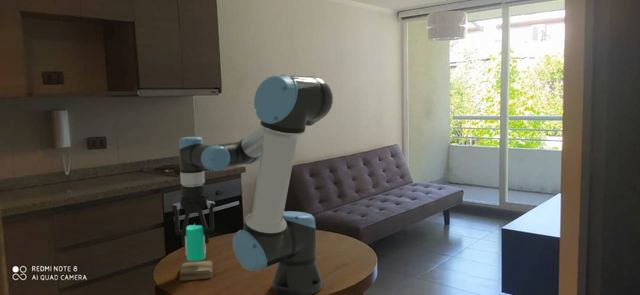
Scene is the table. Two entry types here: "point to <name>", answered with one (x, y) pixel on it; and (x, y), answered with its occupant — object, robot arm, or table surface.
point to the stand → (196, 270)
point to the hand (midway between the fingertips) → (195, 253)
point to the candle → (195, 243)
